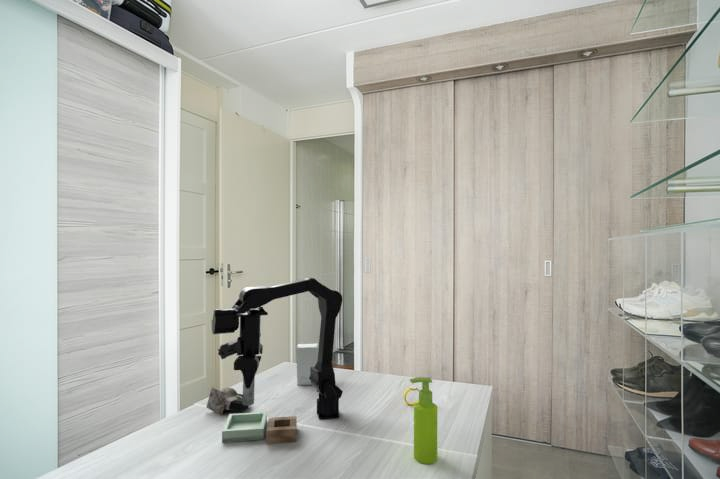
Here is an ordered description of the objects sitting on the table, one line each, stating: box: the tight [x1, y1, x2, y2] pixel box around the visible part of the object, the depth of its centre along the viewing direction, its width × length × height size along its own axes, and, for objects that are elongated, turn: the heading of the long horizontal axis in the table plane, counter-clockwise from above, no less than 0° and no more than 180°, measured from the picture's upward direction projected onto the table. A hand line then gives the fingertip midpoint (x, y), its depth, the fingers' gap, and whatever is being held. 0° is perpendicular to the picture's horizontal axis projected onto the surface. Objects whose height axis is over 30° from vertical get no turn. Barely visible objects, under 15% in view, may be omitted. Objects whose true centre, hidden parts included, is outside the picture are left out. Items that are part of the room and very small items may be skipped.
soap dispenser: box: [409, 376, 438, 465], centre depth 98 cm, size 6×7×20 cm
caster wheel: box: [206, 386, 250, 416], centre depth 127 cm, size 7×11×10 cm
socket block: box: [265, 415, 298, 445], centre depth 109 cm, size 8×8×4 cm
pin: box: [240, 370, 256, 406], centre depth 111 cm, size 4×4×10 cm
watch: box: [403, 385, 420, 406], centre depth 132 cm, size 6×3×6 cm, turn 98°
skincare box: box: [295, 342, 319, 386], centre depth 152 cm, size 8×6×15 cm
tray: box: [221, 411, 268, 443], centre depth 111 cm, size 11×11×3 cm
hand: (248, 385), depth 111 cm, fingers closed on pin, 4 cm apart
